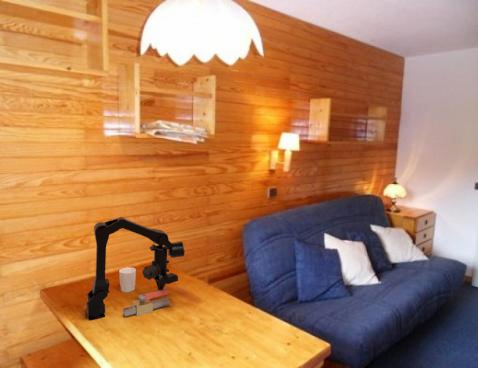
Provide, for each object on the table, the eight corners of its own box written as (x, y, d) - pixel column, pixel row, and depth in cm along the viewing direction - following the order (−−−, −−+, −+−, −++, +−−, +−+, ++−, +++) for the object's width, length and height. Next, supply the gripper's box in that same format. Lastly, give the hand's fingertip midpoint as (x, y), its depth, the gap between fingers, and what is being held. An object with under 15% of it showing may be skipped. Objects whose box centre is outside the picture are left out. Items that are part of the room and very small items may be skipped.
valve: (126, 319, 155) (126, 307, 154) (121, 313, 160) (121, 301, 159) (170, 307, 166) (170, 296, 165) (165, 302, 171) (165, 291, 170)
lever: (140, 301, 159) (140, 297, 159) (137, 299, 161) (137, 295, 161) (169, 294, 167) (169, 290, 167) (165, 291, 169) (165, 288, 169)
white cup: (133, 293, 180) (133, 273, 179) (117, 292, 180) (116, 273, 179) (138, 286, 188) (137, 267, 187) (122, 286, 188) (122, 267, 187)
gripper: (133, 257, 166) (133, 290, 169) (157, 268, 154) (157, 304, 156) (154, 252, 175) (154, 283, 177) (179, 262, 162) (178, 296, 164)
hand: (160, 291), depth 168 cm, fingers closed
